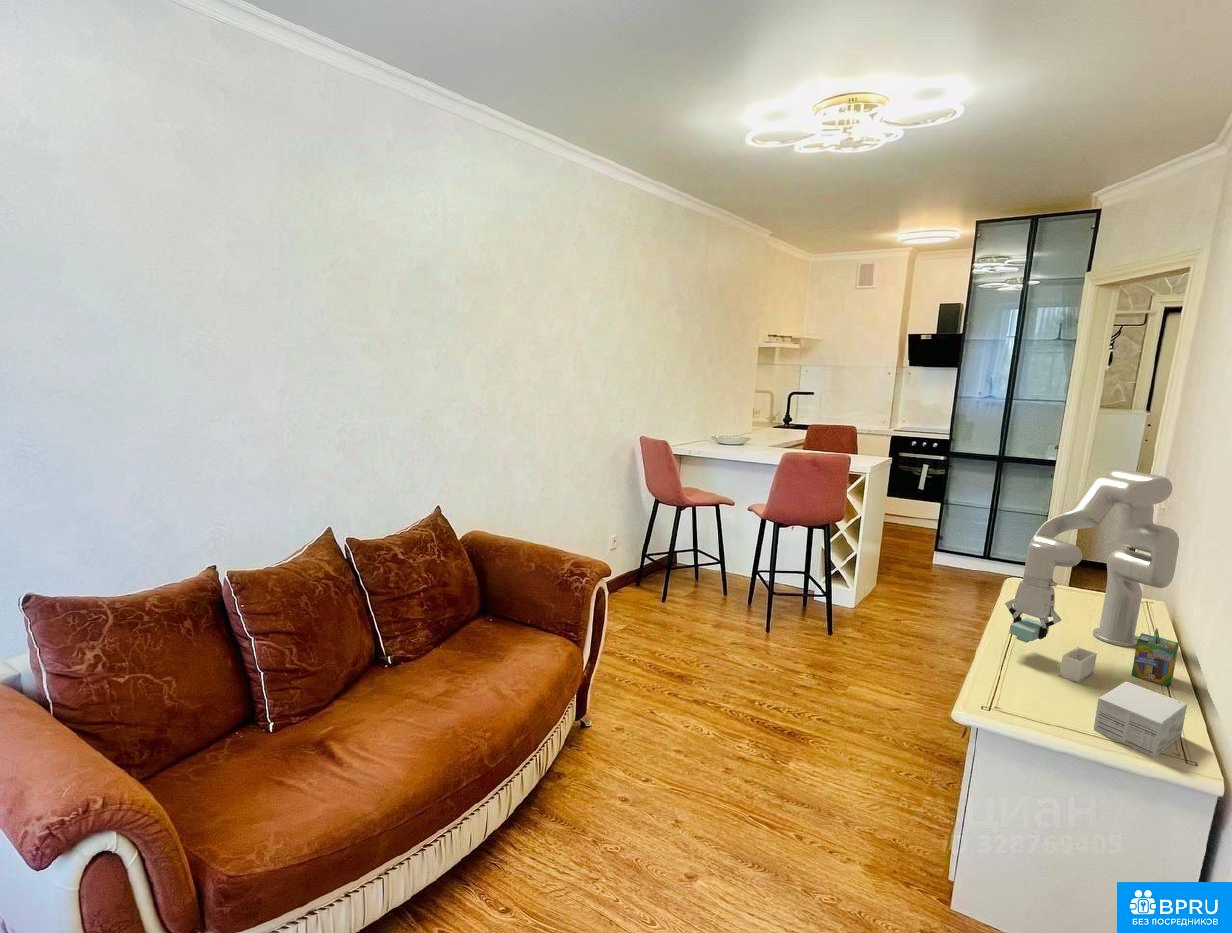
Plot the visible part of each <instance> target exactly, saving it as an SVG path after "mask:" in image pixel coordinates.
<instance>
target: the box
mask: <svg viewBox="0 0 1232 933" xmlns="http://www.w3.org/2000/svg"><path fill="white" fill-rule="evenodd" d="M1061 658H1062V659H1061V663H1060V664H1061V665H1060V668H1059V674H1058V676H1059V677H1062V678H1064V679H1067V680H1070V681H1073V682H1075V683H1078V684H1079V683H1081V682H1083V681H1084V680H1086V679H1088V677H1090V676H1091V675H1093V674H1094V672H1095V668H1096V667H1095V666H1096V661H1097V653H1096V652H1093V651H1091V650H1087V649H1084V648H1081V647H1079V646H1077V647H1075V648H1073V649H1071V650H1070V651H1068V652H1066V653H1065V654H1063V655H1062V656H1061Z"/></svg>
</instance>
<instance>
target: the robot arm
mask: <svg viewBox="0 0 1232 933" xmlns="http://www.w3.org/2000/svg"><path fill="white" fill-rule="evenodd" d="M1172 493H1173V484H1172V482H1171V480H1170V479H1169V478H1167V477H1165V476H1162V475H1158V474H1152V473H1151V474H1150V473H1146V472H1145V473H1144V472H1139V471H1133V470H1127V469H1114V470H1113V469H1112V470H1110V471H1109V472H1108V473H1107V474H1106V475H1105V476H1097V477H1096V478H1094V479H1093V480H1092V481H1091V483H1089V485H1088V486H1087V487H1086V489H1085V490H1084V492H1083V493H1082V495H1081V496H1080V497H1079V499H1078V500H1077V501H1076V502H1075V504H1074V505H1073V507H1072V508H1071V509H1070V510H1068V511H1066V512H1065V511H1064V512H1063V513H1061V514H1058V515H1055V516H1054V517H1052V518H1050V519H1049V520H1046V521H1045V522H1044V523H1042V524H1041V526H1040V527H1039V528H1038V529H1037V531H1036V532H1035V533H1034V535H1033V536H1032V537H1031V539H1030V541H1029V544H1028V547H1027V552H1026V556H1025V557H1026V559H1025V566H1024V570H1023V578H1022V580H1020V582H1019V584H1018V587H1017V589H1016V592H1015V596H1014V598H1013V599H1011V600H1008V601H1005V603H1004V605H1005V606H1006V608H1007V609H1008V611H1009V613H1010V614H1011V615H1012V618H1013V622H1012V624H1013V623H1016V622H1018V621H1021V620H1022V617H1021V615H1022V614H1024V615H1028V616H1031V617H1034V618H1037V619H1039V622H1041V625H1042V626H1041V627H1040V628H1039V629H1040V630H1039V636H1038V640H1042V639H1045V638H1046V637H1047V635H1048V634H1047V629H1048V627H1049V628H1050V627H1051V626H1053V625H1055V624H1058V623H1060V622H1061V621H1062V618H1061V617H1060V616H1059V615H1058V613H1057V612H1056V611H1055V602H1056V601H1055V600H1056V596H1055V588H1054V587H1057V585H1058V583H1057V582H1056V581H1054V571H1055V567H1061V568H1071V567H1075V566H1077V565H1078V564H1079V563H1080V562H1081V561H1082V559H1083V552H1082V549H1080V547H1078V546H1077V545H1076V544H1072V543H1070V542H1067V541H1062V540H1060V539H1056V537H1057V536H1059V535H1060V534H1062V533H1064V532H1068V531H1073V530H1081V529H1089V528H1090V529H1091V528H1096V527H1098V526H1099V525H1101V523H1103V521H1104V520H1105V518H1106V517H1107V515H1109V513H1110V511H1111V510H1112V509H1113V507H1114V506H1117V507H1118V506H1120V509H1119V516H1118V518H1119V519H1118V523H1117V532H1116V539H1117V541H1118V543H1119V544H1120V545H1122V546H1125V547H1128V548H1130V549H1134V550H1136V551H1133V550H1130V549H1115V550H1113V551H1111V553H1109V555H1108V557H1107V560H1106V568H1107V570H1106V571H1107V581H1106V588H1105V593H1104V599H1103V605H1102V609H1101V617H1100V622H1099V627H1097V628H1094V629H1093V630H1092V635H1093V636H1094V637H1095V638H1097V639H1099V640H1100V641H1103V642H1105V643H1108V644H1111V645H1116V646H1118V647H1119V646H1120V647H1124V648H1125V647H1126V648H1134V647H1135V648H1136V644H1137V640H1138V639H1139V638H1138V637H1136V630H1137V624H1138V619H1139V614H1140V610H1141V604H1142V597H1143V592H1142V588H1141V585H1140V584H1142V585H1144V586H1148V587H1152V588H1156V589H1164V588H1167V587H1168V586H1169V585H1170V584H1171V583H1172V581H1173V579H1174V576H1175V573H1176V566H1177V562H1178V561H1177V560H1178V553H1179V548H1180V538H1179V535H1178V533H1177V532H1176V530H1175V529H1173V528H1170V527H1167V526H1163V525H1160V524H1155V523H1154V512H1155V510H1154V509H1155V507H1154V505H1158V504H1161V503H1163V502H1164V501H1166V500H1167V499H1168V498H1169V497H1170V496H1171V494H1172ZM1137 550H1138V551H1140V552H1141V551H1142V552H1146V553H1148V554H1150V555H1147V554H1144V553H1140V552H1137ZM1049 618H1052V620H1050V621H1049Z"/></svg>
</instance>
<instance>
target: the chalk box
mask: <svg viewBox="0 0 1232 933" xmlns="http://www.w3.org/2000/svg"><path fill="white" fill-rule="evenodd" d="M1137 639H1138V640H1137V644H1136V646H1135V651H1134V659H1133V664H1132V670H1131V677H1135V678H1139V679H1143V680H1145V681H1150V682H1153V683H1156V684H1160V685H1162V686H1166V687H1169V686H1170V687H1171V686H1172V684H1173V679H1174V673H1175V667H1176V662H1177V656H1178V651H1179V647H1180V643H1179V642H1177V641H1174V640H1170V639H1167V638H1164V637H1160V634H1159V628H1157V627H1156V628H1155V631H1154V635H1151V634H1146V633H1143V632H1142V633H1141V634H1140V636H1139V637H1138V638H1137Z"/></svg>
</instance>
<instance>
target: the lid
mask: <svg viewBox="0 0 1232 933" xmlns="http://www.w3.org/2000/svg"><path fill="white" fill-rule="evenodd" d="M1041 626H1042V625H1041V622H1040V620H1036V619H1033V618H1030V617H1025V618H1023V619H1022V620H1021V621H1018V622H1016V623H1013V622H1012V623H1011V624H1010V628H1009V634H1010V635H1013V636H1016V640H1018V641H1020V642H1022V643H1023V642H1024V643H1029V642H1033V641H1035V640H1037V639H1038V636H1039V630H1040V629H1039V628H1040V627H1041ZM1049 628H1050V626H1049V627H1048V629H1047V635H1048V634H1049ZM1038 640H1039V639H1038Z"/></svg>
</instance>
